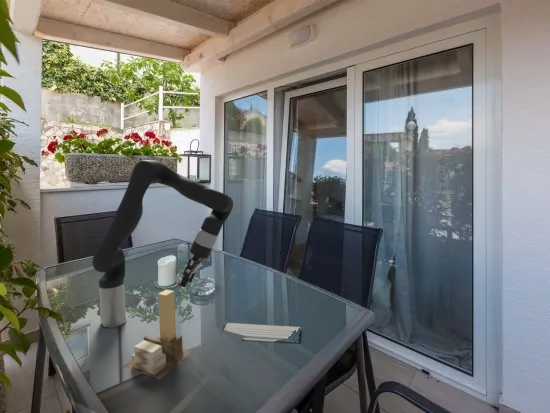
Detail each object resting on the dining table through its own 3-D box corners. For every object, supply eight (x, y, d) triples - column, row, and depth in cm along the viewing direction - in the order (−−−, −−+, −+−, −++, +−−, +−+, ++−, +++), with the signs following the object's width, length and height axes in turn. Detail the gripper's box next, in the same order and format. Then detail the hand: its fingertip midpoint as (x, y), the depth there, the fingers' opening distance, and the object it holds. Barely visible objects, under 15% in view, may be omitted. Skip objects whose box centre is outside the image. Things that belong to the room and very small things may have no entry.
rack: (123, 369, 101) (121, 348, 100) (159, 344, 116) (158, 325, 115) (159, 383, 95) (158, 361, 94) (193, 355, 109) (192, 335, 108)
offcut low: (132, 366, 101) (131, 355, 100) (144, 357, 105) (143, 346, 105) (154, 374, 97) (154, 363, 96) (166, 365, 101) (165, 354, 101)
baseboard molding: (299, 347, 115) (300, 330, 127) (299, 340, 115) (300, 323, 127) (219, 342, 118) (227, 326, 130) (219, 335, 118) (227, 319, 130)
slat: (161, 352, 108) (157, 293, 105) (169, 346, 112) (166, 289, 109) (168, 355, 107) (165, 295, 104) (176, 349, 110) (174, 291, 107)
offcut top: (134, 354, 100) (134, 346, 100) (144, 348, 104) (144, 340, 104) (152, 361, 97) (152, 352, 97) (162, 354, 101) (161, 345, 100)
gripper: (198, 238, 121) (181, 276, 120) (189, 240, 106) (170, 283, 105) (216, 246, 121) (199, 284, 120) (209, 249, 106) (190, 292, 106)
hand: (185, 283), depth 113 cm, fingers open, 8 cm apart
